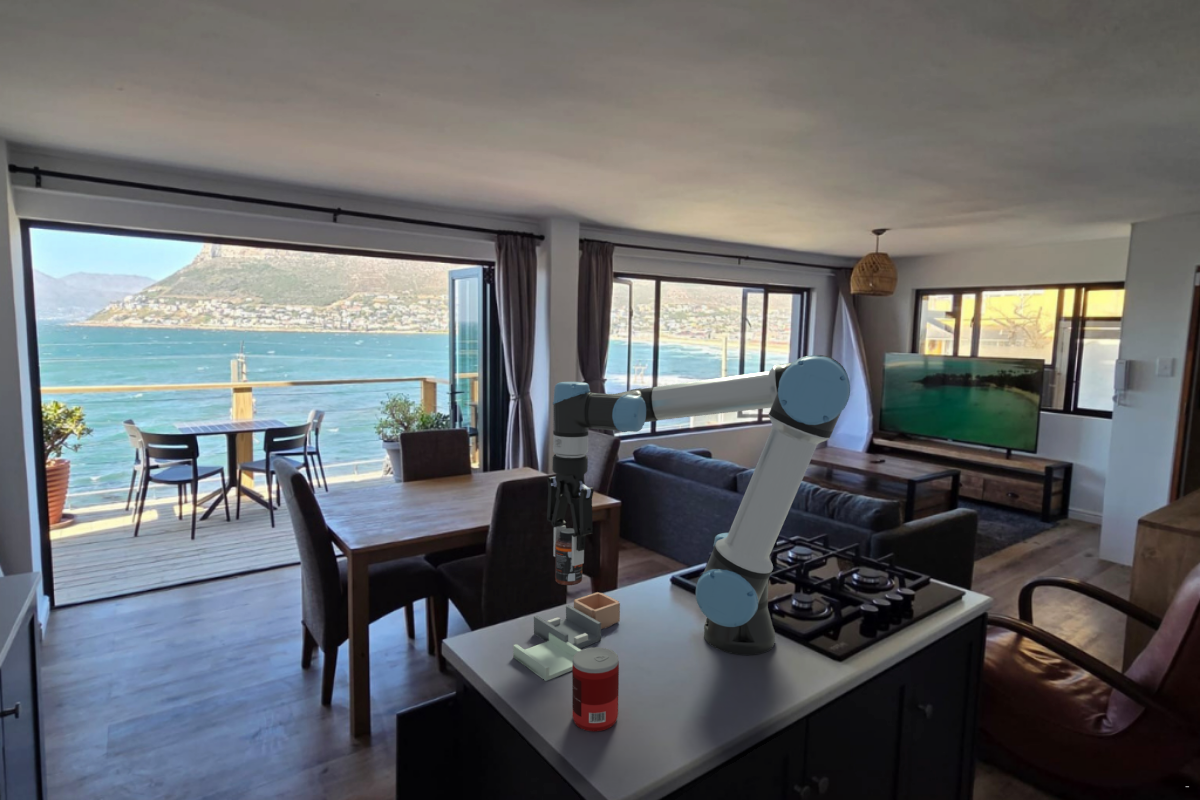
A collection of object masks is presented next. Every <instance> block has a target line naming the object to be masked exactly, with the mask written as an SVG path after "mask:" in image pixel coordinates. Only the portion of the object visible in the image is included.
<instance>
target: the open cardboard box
mask: <svg viewBox="0 0 1200 800" xmlns="http://www.w3.org/2000/svg"><path fill="white" fill-rule="evenodd" d="M573 608H575V609H577V610H578V611H580V612H582V613H584V614H586V615H588V616H589V617H591V618H593V619H595V620H597V621H599V622H600V623H601V630H603V629H607V628H609V627H611V626H613V625H614V624H617V623H619V622H620V621H621V617H620V615H621V614H620V613H621V603H620V601H619V600H616V599H615V598H613V597H611V596H608V595H607V594H605V593H603V592H598V591H597V592H593V593H590V594H589V595H585V596H582V597H579V598H576V599H573Z"/></svg>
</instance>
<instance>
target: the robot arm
mask: <svg viewBox="0 0 1200 800" xmlns="http://www.w3.org/2000/svg"><path fill="white" fill-rule="evenodd" d="M553 391H554V393H553V402H552V405H553V408H552V410H553V424H552V425H553V427H552V428H553V430H552V434H553V435H552V437H553V438H552V440H553V442H552V452H553V456H552V472H553V473H554V474H555V476H551V477H547V480H546V481H547V488H548V490H547V492H548V494H547V509H546V510H547V511H546V520H547V522H551V526H552V532H553V533H552V539H553V548H552V549H553V551H552V552H553V555H552V556H553V557H554V558H555V544H556V541H557V540H558V539H560V530H561V529H566V528H567V526H566V523H567V522H566V521H565V517H566V513H567V509H568V505H570V506H569V507H570V512H571V518H572V519H571V520H572V525H573V529H574V532H575V534H572V564H571V565H572V566H576V565H580V564H582V565H583V564H584V563H585V549H586V535H591V534H593V531H594V529H593V526H594V525H593V496H594V491H595V490H594V489H595V488H594V487H593V486H592V487H588V486H587V485H586V484H585V483H586V482H585V479H584V476H585V474H587V472H588V467H589V465H588V463H589V459H588V456H587V454H588V453H589V430H590V429H591V430H596V429H597V430H605V431H606V430H607V431H617V432H622V433H628V432H632V433H636V432H640V431H641V430H642V429H643V427H644V425H645V423H647V422H648V423H649V422H650V423H651V422H657V421H665V420H673V419H681V418H682V419H684V418H691V417H692V418H693V417H700V416H708V415H709V416H710V415H717V414H719V415H720V414H727V413H735V412H736V413H737V412H745V411H753V410H754V411H755V410H762V409H764V410H765V409H769V412H768V417H769V420H770V422H771V425H772V427H771V428H770V432H769V434H768V437H767V439H766V442H765V444H764V447H763V449H762V451H761V454H760V456H759V458H758V461H757V464H756V466H755V468H754V470H753V473H752V475H751V478H750V480H749V483H748V485H747V488H746V490H745V493H744V495H743V497H742V499H741V501H740V504H739V507H738V510H737V512H736V515H735V516H734V519H733V521H732V523H731V527H730V529H729V531H728V532H722V533H719V534H717V535H715V537H714V541H713V542H714V543H713V546H712V547H713V549H712V552H711V554H710V556H709V559H708V561H707V564H706V567H705V569H704V571H703V573H702V574H701V576H699V578H698V580H697V583H696V588H695V599H696V603H697V604H698V607H699V609H700V611H701V613H702V614H703V615H704V616H705V617H706V619H705V622H704V625H703V627H704V628H703V629H704V630H703V637H704V640H705V641H706V642H707V644H709V645H710V646H712V647H714V648H715V649H717V650H720V651H723V652H726V653H729V654H735V655H740V656H741V655H742V656H743V655H744V656H745V655H746V656H751V655H752V656H753V655H759V654H760V655H761V654H764V653H767V652H769V651H770V650H772V649H773V648H772V646H773V645H774V646H775V644H774V642H775V643H776V641H775V640H776V639H775V638H776V632H775V629H774V626H773V622H772V619H771V618H772V617H771V614H770V611H769V608H768V603H769V602H768V599H769V579H770V576H771V574H772V571H773V569H774V566H773V563H772V560H771V558H770V556H771V553H772V551H773V549H774V546H775V543H776V542H777V539H778V537H779V534H780V532H781V530H782V528H783V525H784V524H785V520H786V518H787V516H788V514H789V511H790V509H791V508H792V504H793V502H794V500H795V497H796V496H797V493H798V491H799V488H800V486H801V483H802V482H803V479H804V477H805V475H806V472H807V470H808V467H809V465H810V463H811V460H812V457H813V456H814V453H815V451H816V449H817V446H818V445H819V444H820V443H823V442H826V441H829V440H830V439H831V437H832V434H833V431H834V430H835V428H836V425H837V422H838V420H839V419H840V416H841V414H842V412H843V410H844V409H845V408H846V406H847V404H848V402H849V400H850V396H851V383H850V379H849V376H848V372H847V370H846V369H845V367H844V366H843V365H842V364H841V363H840V362H839V361H838V360H836V359H834V358H833V357H830V356H828V355H822V354H812V355H806V356H802V357H800V358H797V359H796V360H795V361H792V362H788V363H783V364H775V365H773V366H772V368H771V369H769V371H761V372H754V373H753V372H752V373H747V374H739V375H738V374H737V375H733V376H732V375H731V376H724V377H718V378H710V379H702V380H696V381H689V382H688V381H687V382H681V383H674V384H673V383H672V384H666V385H661V386H660V385H659V386H654V387H653V386H652V387H646V388H641V387H639V388H638V387H637V388H633V389H630V390H627V391H622V392H617V393H599V392H598V393H597V392H591V389H590V384H589V383H587V382H581V381H560V382H558V383H556V384H555V385H554V390H553ZM774 646H773V647H774ZM769 649H770V650H769ZM768 650H769V651H768ZM766 651H767V652H766Z"/></svg>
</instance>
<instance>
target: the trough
mask: <svg viewBox="0 0 1200 800" xmlns="http://www.w3.org/2000/svg"><path fill="white" fill-rule="evenodd" d="M512 649H513V651H512V653H513V658H514V659H515V660H516V661H518V662H519V663H520V664H522V665H523V666H524V667H526V668H527V669H529V670H530V671H531V672H532V673H534V674H535V675H537V676H538V677H539V678H541V679H542V680H543V679H544V680H543V681H545V682H547V681H550V680H553V679H555V678H557V677H559V676H562V675H564V674H567V673H569V672H571V671H572V666H573V657H574V655H575V654H576V653H577V652H579V651H581V650H582V649H581V648H580V649H579V648H577V647H576V646H574V645H572V644H571V643H569V642H568V641H567V642H564V641H562V640H561V639H559V638H557V637H556V636H554V635H553V634H551V633H549V641H547V642H545V641H544V642H542V643H539V644H537V645H534V646H531V647H527V648H525V649H524V648H523V647H521V646H520V645H519V644H518V643H516V644H513V647H512Z"/></svg>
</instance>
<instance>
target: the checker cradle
mask: <svg viewBox="0 0 1200 800" xmlns="http://www.w3.org/2000/svg"><path fill="white" fill-rule="evenodd" d="M549 633H551V634H553V635H554V636H556V637H557V638H559V639H561V640H562V641H564V642H567V641H568V642H569V643H571V644H572V645H574V646H576V647H577V648H579V649H580V650H581V649H582V648H583V649H584V648H585V647H588V646H590V645H593V644H596V643H598V642H600V641H602V636H601V635H602V629H601V623H600V622H599V621H597V620H595V619H593V618H591V617H589V616H588V615H586V614H584V613H582V612H580V611H578V610H577V609H575V608H574V606H571V605H569V604H568V605H566V606H565V618H564V619H561V618H560V617H559V616H558V617H555V618H551V619H549V620H544V619H543V618H541V617H539V616H538V615H534V616H533V634H534V636H536V637H538V638H539V639H541V640H543V641H544V642H545V641H546V642H547V641H549Z"/></svg>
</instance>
